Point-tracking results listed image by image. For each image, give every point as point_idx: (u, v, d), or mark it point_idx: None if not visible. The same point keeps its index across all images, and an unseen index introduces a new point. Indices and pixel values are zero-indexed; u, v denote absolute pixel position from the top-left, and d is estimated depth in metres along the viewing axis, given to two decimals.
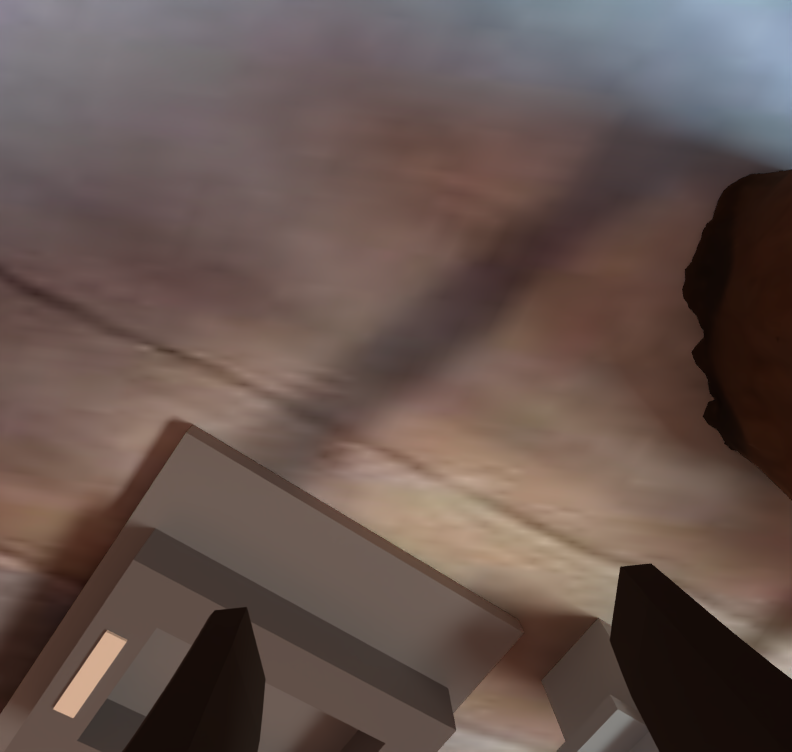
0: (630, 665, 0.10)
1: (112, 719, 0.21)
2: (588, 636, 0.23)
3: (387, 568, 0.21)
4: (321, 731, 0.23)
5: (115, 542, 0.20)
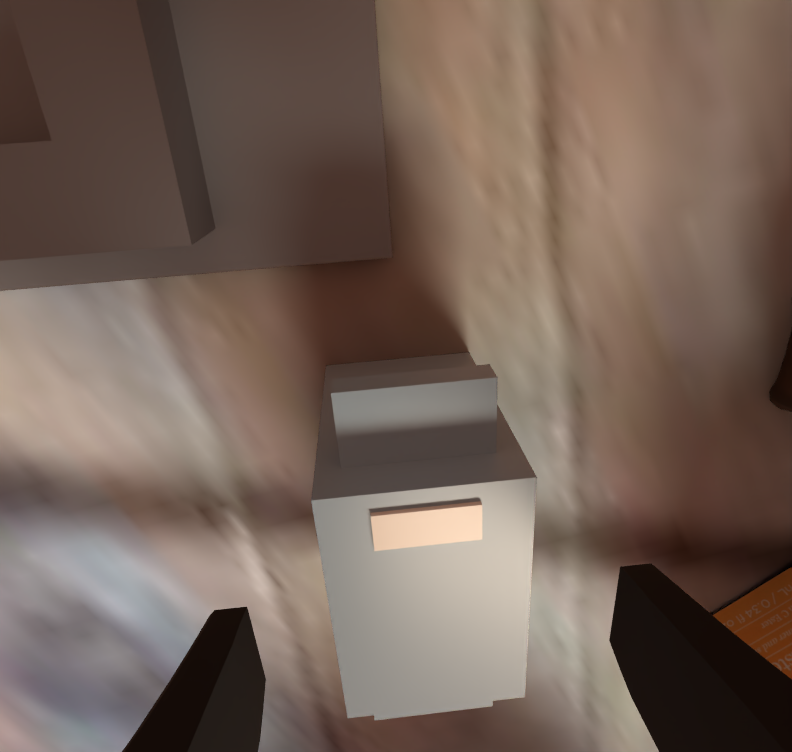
0: (630, 665, 0.10)
1: None
2: (440, 359, 0.14)
3: None
4: None
5: None
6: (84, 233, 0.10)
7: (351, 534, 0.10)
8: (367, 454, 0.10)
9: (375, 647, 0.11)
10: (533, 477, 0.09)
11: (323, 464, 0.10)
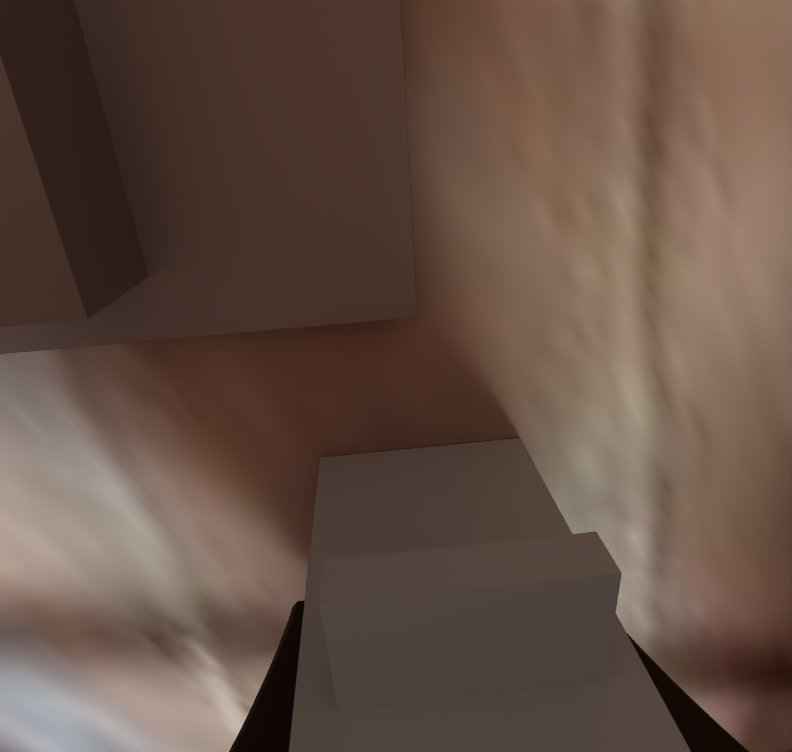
0: None
1: None
2: (480, 451, 0.10)
3: None
4: None
5: None
6: None
7: None
8: (384, 690, 0.06)
9: None
10: None
11: (308, 698, 0.06)
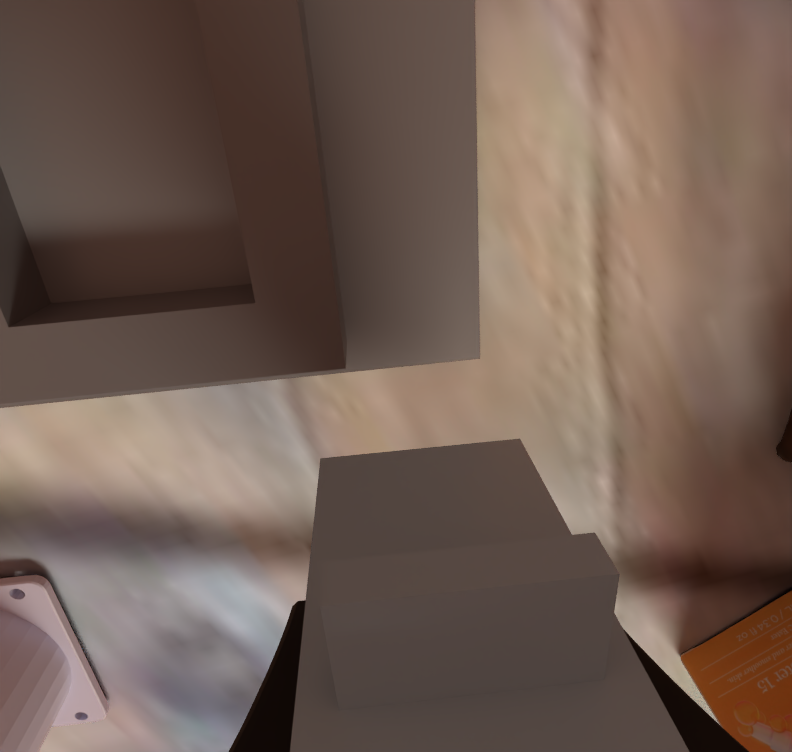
0: None
1: None
2: (480, 452, 0.10)
3: (452, 123, 0.14)
4: (153, 244, 0.14)
5: None
6: (270, 362, 0.14)
7: None
8: (384, 690, 0.06)
9: None
10: None
11: (309, 698, 0.06)
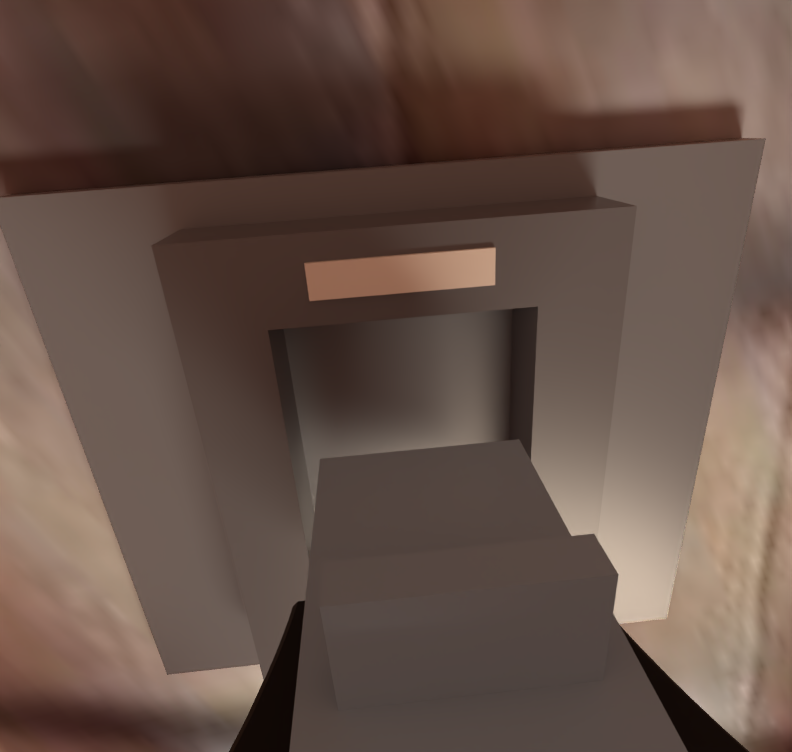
0: None
1: (281, 343, 0.13)
2: (480, 452, 0.10)
3: (678, 468, 0.16)
4: None
5: (542, 158, 0.12)
6: None
7: None
8: (384, 690, 0.06)
9: None
10: None
11: (308, 699, 0.06)
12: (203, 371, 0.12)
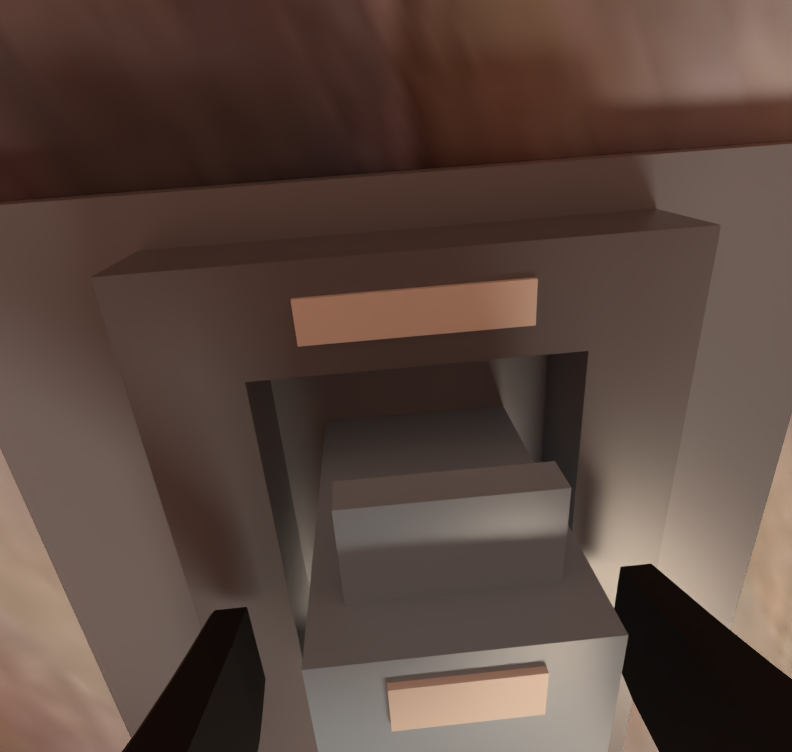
0: (630, 665, 0.10)
1: (264, 391, 0.11)
2: (468, 417, 0.12)
3: (737, 527, 0.14)
4: None
5: (590, 162, 0.10)
6: None
7: (359, 708, 0.07)
8: (382, 587, 0.07)
9: None
10: (623, 635, 0.06)
11: (320, 597, 0.07)
12: (164, 432, 0.09)
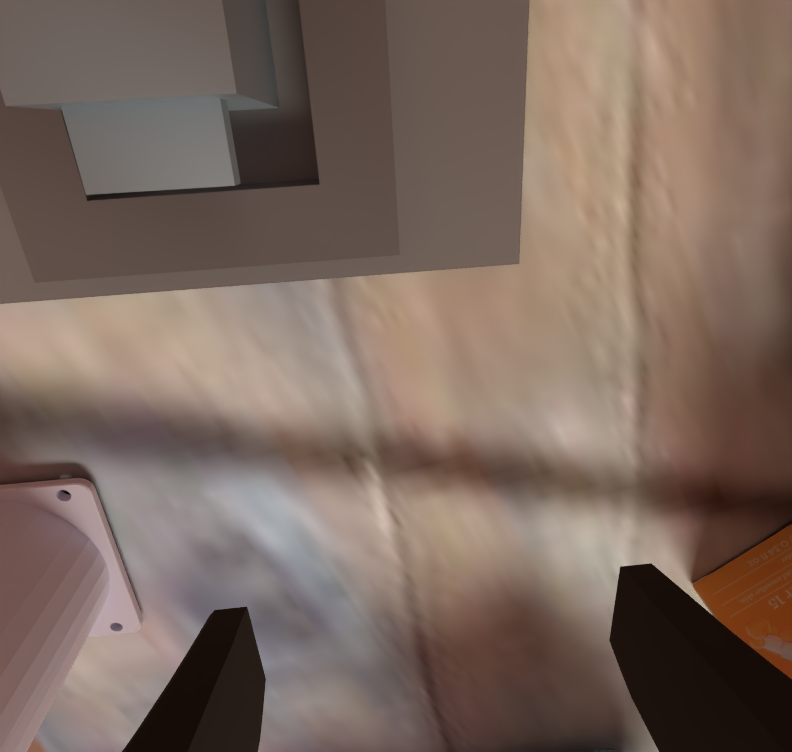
0: (629, 665, 0.10)
1: None
2: None
3: (506, 23, 0.14)
4: None
5: None
6: (329, 246, 0.15)
7: None
8: None
9: None
10: None
11: None
12: None
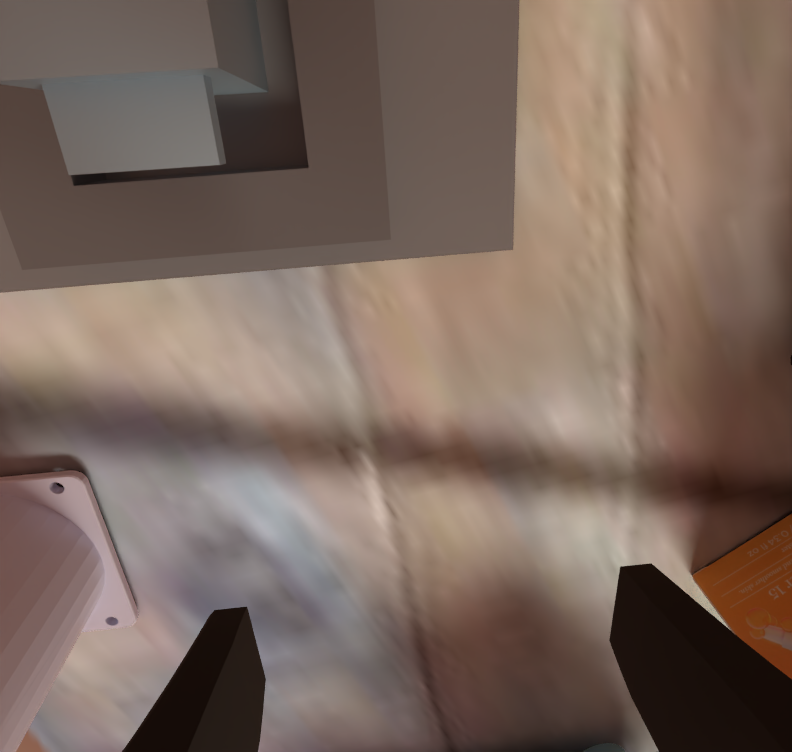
0: (630, 665, 0.10)
1: None
2: None
3: (496, 3, 0.14)
4: None
5: None
6: (319, 231, 0.14)
7: None
8: None
9: None
10: None
11: None
12: None
